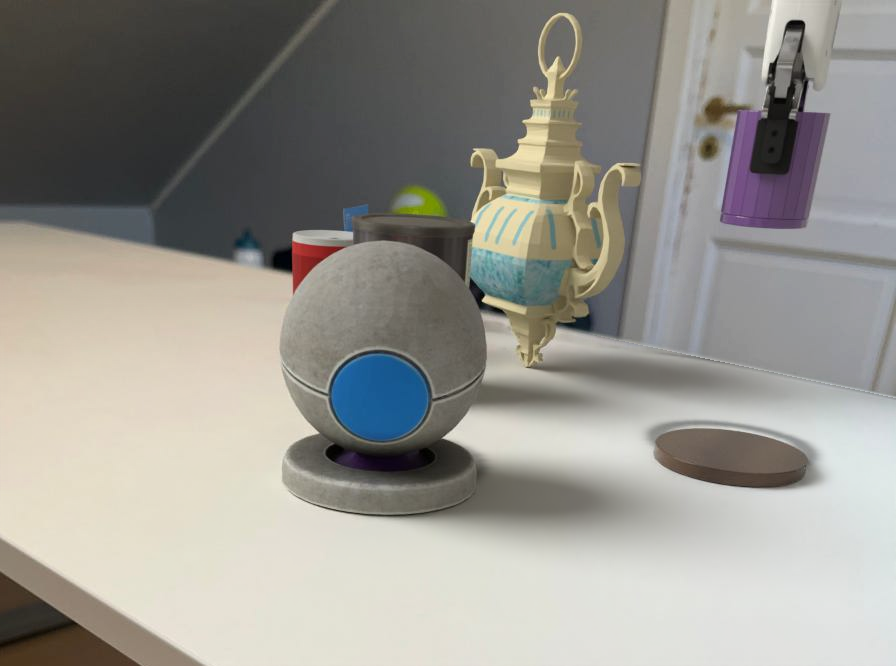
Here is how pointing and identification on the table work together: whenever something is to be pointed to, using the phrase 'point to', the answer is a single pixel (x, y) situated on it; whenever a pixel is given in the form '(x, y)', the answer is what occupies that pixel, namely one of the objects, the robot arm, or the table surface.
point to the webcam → (382, 380)
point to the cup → (773, 176)
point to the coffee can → (421, 235)
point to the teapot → (546, 218)
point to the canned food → (315, 250)
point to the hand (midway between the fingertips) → (772, 170)
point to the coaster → (730, 457)
